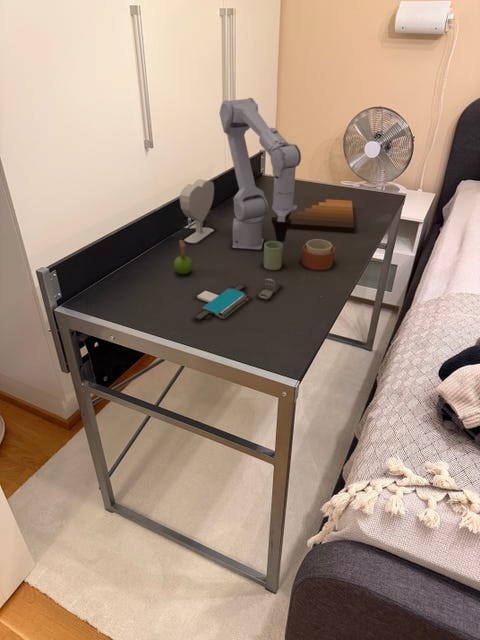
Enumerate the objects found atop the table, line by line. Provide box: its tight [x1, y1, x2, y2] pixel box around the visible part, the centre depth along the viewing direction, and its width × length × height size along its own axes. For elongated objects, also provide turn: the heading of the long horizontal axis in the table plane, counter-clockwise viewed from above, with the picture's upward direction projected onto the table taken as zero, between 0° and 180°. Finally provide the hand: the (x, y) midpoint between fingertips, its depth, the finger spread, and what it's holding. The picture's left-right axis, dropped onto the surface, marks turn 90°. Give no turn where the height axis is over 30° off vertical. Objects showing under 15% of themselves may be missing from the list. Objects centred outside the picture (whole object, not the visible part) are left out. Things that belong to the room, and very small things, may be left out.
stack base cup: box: [301, 243, 336, 271], centre depth 144 cm, size 10×10×5 cm
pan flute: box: [288, 198, 355, 233], centre depth 175 cm, size 25×3×25 cm
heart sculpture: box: [179, 179, 215, 244], centre depth 158 cm, size 16×5×18 cm, turn 152°
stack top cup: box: [305, 238, 333, 254], centre depth 144 cm, size 8×8×6 cm
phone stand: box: [195, 284, 250, 321], centre depth 126 cm, size 20×12×2 cm, turn 146°
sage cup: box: [262, 240, 284, 271], centre depth 142 cm, size 6×6×7 cm
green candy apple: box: [173, 239, 193, 275], centre depth 136 cm, size 5×6×12 cm
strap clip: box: [258, 277, 281, 301], centre depth 130 cm, size 8×3×4 cm, turn 150°
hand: (281, 235), depth 140 cm, fingers open, 7 cm apart
